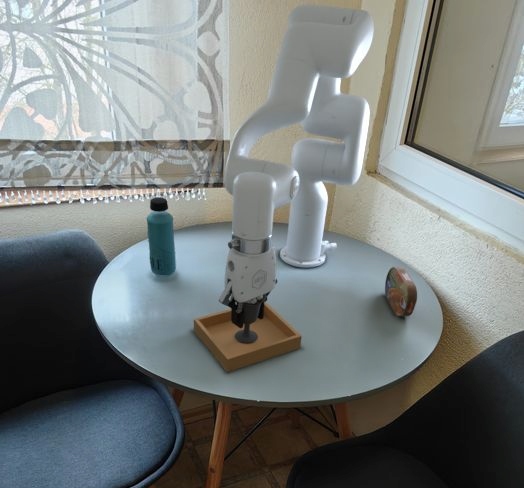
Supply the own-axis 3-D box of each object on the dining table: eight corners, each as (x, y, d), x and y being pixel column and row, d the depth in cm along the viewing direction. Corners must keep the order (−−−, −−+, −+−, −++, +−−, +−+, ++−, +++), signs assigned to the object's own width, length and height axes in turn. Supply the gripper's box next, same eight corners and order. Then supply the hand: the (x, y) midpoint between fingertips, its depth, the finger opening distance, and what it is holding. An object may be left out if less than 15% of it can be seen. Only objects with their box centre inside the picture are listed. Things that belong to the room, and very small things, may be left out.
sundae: (265, 332, 113) (271, 271, 104) (255, 348, 108) (260, 286, 99) (237, 324, 114) (241, 264, 105) (226, 340, 109) (228, 278, 100)
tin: (382, 290, 132) (389, 260, 127) (394, 290, 132) (401, 260, 127) (399, 323, 120) (408, 292, 115) (412, 323, 120) (421, 292, 115)
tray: (262, 312, 120) (263, 300, 118) (300, 348, 110) (301, 335, 108) (193, 331, 113) (193, 318, 111) (227, 372, 102) (227, 359, 100)
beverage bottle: (179, 270, 134) (176, 195, 121) (173, 283, 128) (169, 206, 116) (154, 267, 134) (148, 192, 122) (147, 280, 129) (140, 203, 116)
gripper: (228, 260, 90) (226, 343, 102) (297, 237, 100) (288, 315, 111) (203, 244, 95) (204, 326, 106) (271, 223, 104) (265, 300, 115)
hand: (247, 319), depth 108 cm, fingers closed on sundae, 4 cm apart
